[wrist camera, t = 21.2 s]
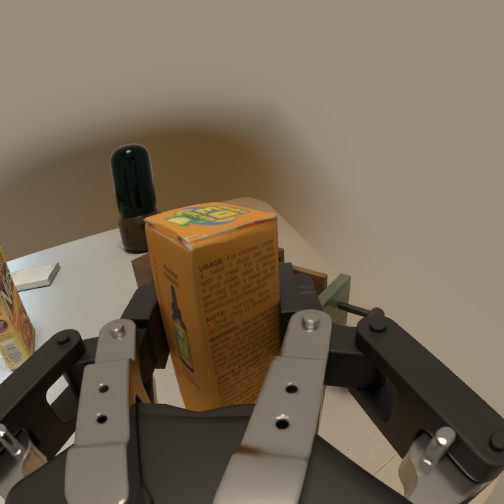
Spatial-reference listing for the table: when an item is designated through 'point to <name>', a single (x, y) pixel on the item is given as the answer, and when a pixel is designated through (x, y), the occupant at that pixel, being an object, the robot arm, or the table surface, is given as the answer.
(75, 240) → the table surface
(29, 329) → the candy box
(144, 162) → the lamp
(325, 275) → the drawer
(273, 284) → the supplement box
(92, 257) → the table surface
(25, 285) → the hard drive
